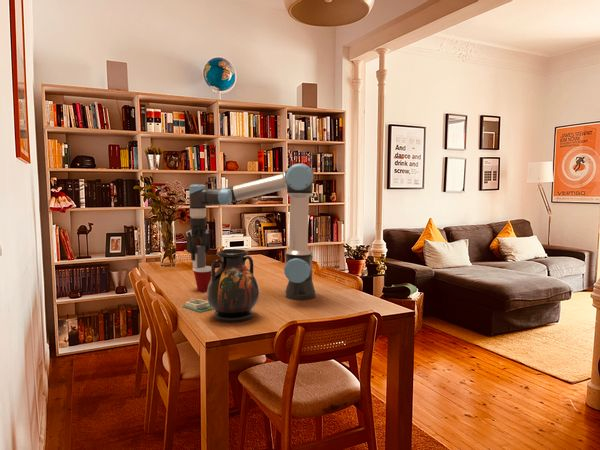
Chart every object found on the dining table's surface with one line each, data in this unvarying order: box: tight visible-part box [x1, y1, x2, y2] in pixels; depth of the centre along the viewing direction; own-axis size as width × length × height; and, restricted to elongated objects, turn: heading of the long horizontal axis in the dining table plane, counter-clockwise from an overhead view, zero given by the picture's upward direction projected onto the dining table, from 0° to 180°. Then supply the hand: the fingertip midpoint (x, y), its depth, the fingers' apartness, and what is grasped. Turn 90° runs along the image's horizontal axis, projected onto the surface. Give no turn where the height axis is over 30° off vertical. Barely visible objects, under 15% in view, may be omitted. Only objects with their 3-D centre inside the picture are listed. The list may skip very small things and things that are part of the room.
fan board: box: [182, 297, 214, 314], centre depth 201 cm, size 13×9×3 cm
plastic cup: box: [192, 265, 211, 293], centre depth 233 cm, size 11×11×12 cm
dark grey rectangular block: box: [193, 244, 206, 268], centre depth 211 cm, size 5×4×10 cm
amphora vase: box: [206, 248, 260, 323], centre depth 186 cm, size 22×22×28 cm
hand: (199, 266), depth 211 cm, fingers closed on dark grey rectangular block, 4 cm apart
